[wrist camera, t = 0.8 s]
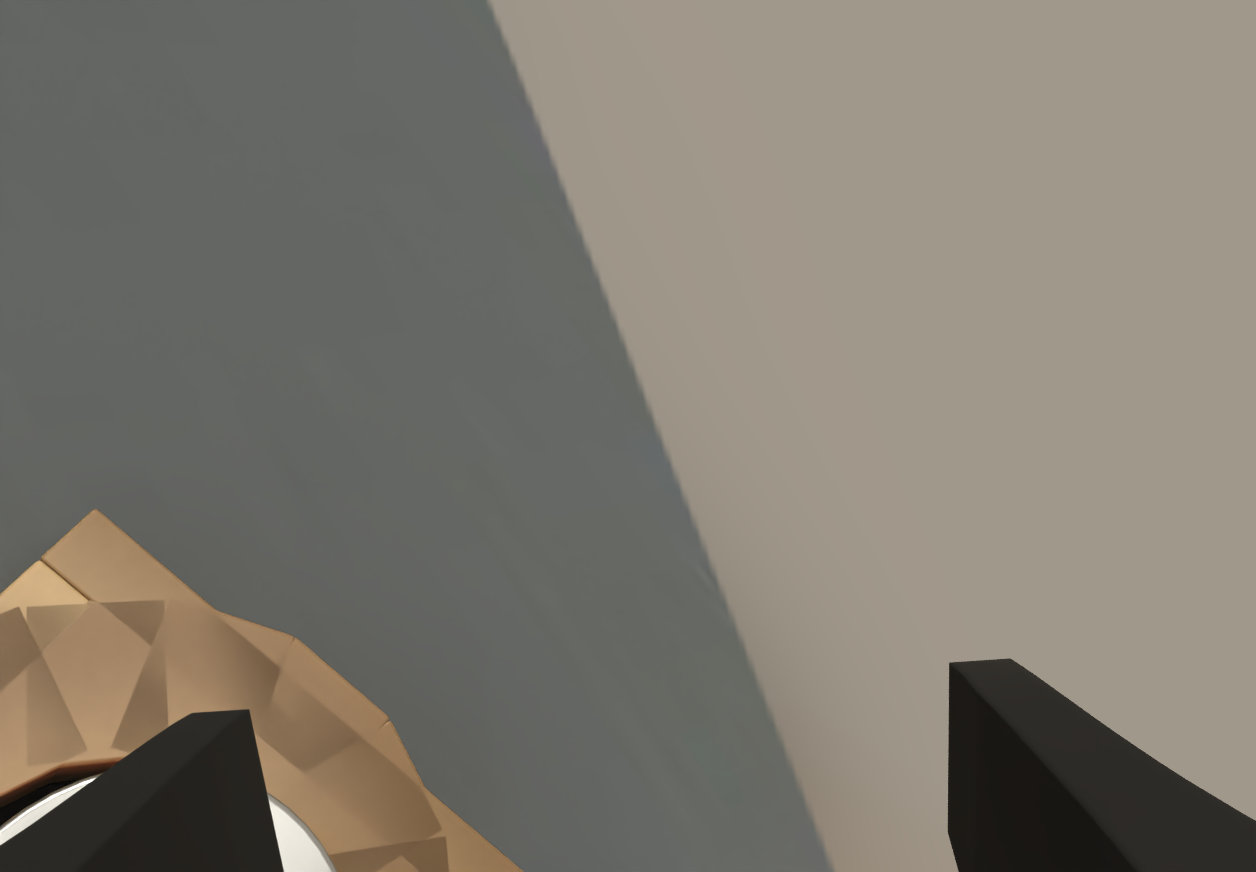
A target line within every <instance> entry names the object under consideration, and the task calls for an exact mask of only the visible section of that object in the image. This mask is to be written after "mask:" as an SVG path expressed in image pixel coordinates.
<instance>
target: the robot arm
mask: <svg viewBox="0 0 1256 872" xmlns="http://www.w3.org/2000/svg"><path fill="white" fill-rule="evenodd" d="M948 759H949V760H948V761H949V762H948V766H949V767H948V834H949V838H950V841H951V845H952V849H953V852H954V856H955V860H956V863H957V867H958V870H959V872H1256V821H1255V820H1253V819H1251V818H1250V817H1248V816H1246V815H1244V814H1243V813H1241V812H1239V811H1238V810H1236V809H1234V808H1233V807H1231V806H1229V805H1228V804H1226V803H1224V802H1223V801H1221V800H1219V799H1218V798H1216V797H1214V796H1212V795H1211V794H1209V793H1208V792H1206V791H1204V790H1203V789H1201V788H1199V787H1198V786H1196V785H1194V784H1193V783H1191V782H1189V781H1188V780H1186V779H1185V778H1183V777H1182V776H1180V775H1178V774H1177V773H1175V772H1174V771H1172V770H1170V769H1169V768H1168V767H1166V766H1164V765H1163V764H1161V763H1160V762H1158V761H1157V760H1155V759H1154V758H1152V757H1151V756H1149V755H1148V754H1146V753H1145V752H1143V751H1142V750H1140V749H1139V748H1137V747H1136V746H1134V745H1133V744H1131V743H1130V742H1128V741H1127V740H1126V739H1124V738H1123V737H1121V736H1120V735H1118V734H1117V733H1115V732H1114V731H1112V730H1111V729H1110V728H1108V727H1107V726H1105V725H1104V724H1102V723H1101V722H1100V721H1098V720H1097V719H1095V718H1094V717H1093V716H1091V715H1090V714H1089V713H1087V712H1085V711H1084V710H1083V709H1082V708H1080V707H1079V706H1077V705H1076V704H1074V703H1073V702H1072V701H1070V700H1069V699H1068V698H1066V697H1064V696H1063V695H1062V694H1061V693H1059V692H1058V691H1056V690H1055V689H1054V688H1052V687H1051V686H1050V685H1048V684H1047V683H1045V682H1044V681H1043V680H1041V679H1040V678H1038V677H1037V676H1036V675H1034V674H1033V673H1031V672H1029V671H1028V670H1027V669H1025V668H1024V667H1023V666H1021V665H1019V664H1018V663H1016V662H1015V661H1013V660H1012V659H997V660H983V661H967V662H953V663H949V758H948ZM0 872H284V869H283V865H282V860H281V855H280V851H279V846H278V841H277V837H276V832H275V827H274V823H273V818H272V813H271V809H270V804H269V799H268V795H267V790H266V785H265V781H264V776H263V771H262V767H261V762H260V757H259V753H258V748H257V743H256V739H255V734H254V729H253V725H252V720H251V715H250V711H249V709H242V710H227V711H212V712H197V713H191V714H189V715H187V716H185V717H184V718H182V719H180V720H179V721H177V722H175V723H174V724H172V725H171V726H169V727H167V728H166V729H164V730H163V731H161V732H160V733H158V734H157V735H156V736H154V737H153V738H151V739H150V740H148V741H147V742H145V743H144V744H143V745H141V746H140V747H138V748H137V749H136V750H134V751H133V752H131V753H130V754H129V755H127V756H126V757H124V758H123V759H122V760H120V761H119V762H118V763H116V764H115V765H113V766H112V767H111V768H109V769H108V770H106V771H105V772H104V773H102V774H101V775H100V776H98V777H97V778H95V779H94V780H93V781H91V782H90V783H88V784H87V785H86V786H84V787H83V788H81V789H80V790H79V791H77V792H76V793H75V794H73V795H72V796H70V797H69V798H68V799H66V800H65V801H63V802H62V803H61V804H59V805H58V806H56V807H55V808H54V809H52V810H51V811H49V812H48V813H47V814H45V815H44V816H42V817H41V818H40V819H38V820H37V821H35V822H34V823H33V824H31V825H30V826H28V827H27V828H25V829H24V830H22V831H21V832H19V833H18V834H16V835H15V836H13V837H12V838H10V839H9V840H7V841H6V842H4V843H3V844H1V845H0Z"/></svg>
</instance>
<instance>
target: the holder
mask: <svg viewBox="0 0 1256 872" xmlns="http://www.w3.org/2000/svg"><path fill="white" fill-rule="evenodd" d="M242 709H249V711H250V715H251V720H252V725H253V729H254V734H255V739H256V743H257V748H258V753H259V757H260V762H261V767H262V771H263V776H264V781H265V785H266V790H267V792H268V793H269V794H271V795H272V796H274V797H275V798H276V799H278V800H279V801H281V802H282V803H283V804H285V805H286V806H288V807H289V808H290V809H291V810H292V811H293V812H294V813H295V814H296V815H297V816H298V817H299V818H300V819H301V820H302V821H303V822H304V823H305V824H307V826H308V827H309V828H310V830H311V831H312V832H313V833H314V835H315V836H316V837H317V838H318V840H319V841H320V842H321V843H322V845H323V847H324V848H325V850H326V852H327V853H328V855H329V857H330V859H331V860H332V862H333V864H334V865H335V867H336V870H337V872H524V871H522V870H521V869H520V868H519V867H518V866H516V865H515V864H514V863H513V862H512V861H511V860H509V859H508V858H507V857H506V856H505V855H504V854H502V853H501V852H500V851H499V850H498V849H496V848H495V847H494V846H493V845H492V844H491V843H489V842H488V841H487V840H486V839H485V838H484V837H482V836H481V835H480V834H479V833H478V832H476V831H475V830H474V829H473V828H472V827H471V826H469V825H468V824H467V823H466V822H465V821H464V820H462V819H461V818H460V817H459V816H458V815H456V814H455V813H454V812H453V811H452V810H451V809H449V808H448V807H447V806H446V805H445V804H444V803H442V802H441V801H440V800H439V799H438V798H436V797H435V796H434V795H433V794H432V793H431V792H429V791H428V790H427V789H426V788H425V786H424V785H423V783H422V781H421V779H420V777H419V775H418V773H417V771H416V769H415V767H414V765H413V763H412V761H411V759H410V757H409V755H408V753H407V751H406V749H405V747H404V745H403V743H402V741H401V739H400V737H399V735H398V733H397V731H396V729H395V727H394V725H393V723H392V722H391V721H389V717H388V716H387V715H386V714H385V713H384V712H383V711H382V710H380V709H379V708H378V707H377V706H376V705H375V704H373V703H372V702H371V701H370V700H369V699H368V698H366V697H365V696H364V695H363V694H362V693H361V692H359V691H358V690H357V689H356V688H355V687H354V686H352V685H351V684H350V683H349V682H348V681H346V680H345V679H344V678H343V677H342V676H341V675H339V674H338V673H337V672H336V671H335V670H334V669H332V668H331V667H330V666H329V665H328V664H327V663H325V662H324V661H323V660H322V659H321V658H320V657H318V656H317V655H316V654H315V653H314V652H313V651H311V650H310V649H309V648H308V647H307V646H306V645H304V644H303V643H302V642H301V641H300V640H299V639H297V638H294V636H292V635H289V634H286V633H283V632H280V631H277V630H274V629H271V628H268V627H265V626H262V625H259V624H256V623H253V622H250V621H247V620H243V619H240V618H237V617H234V616H231V615H228V614H225V613H222V612H219V611H216V610H215V609H214V608H213V607H212V606H211V605H209V604H208V603H207V602H206V601H205V600H204V599H202V598H201V597H200V596H199V595H198V594H196V593H195V592H194V591H193V590H192V589H191V588H189V587H188V586H187V585H186V584H185V583H184V582H182V581H181V580H180V579H179V578H178V577H176V576H175V575H174V574H173V573H172V572H171V571H169V570H168V569H167V568H166V567H165V566H164V565H162V564H161V563H160V562H159V561H158V560H156V559H155V558H154V557H153V556H152V555H151V554H149V553H148V552H147V551H146V550H145V549H144V548H142V547H141V546H140V545H139V544H138V543H136V542H135V541H134V540H133V539H132V538H131V537H129V536H128V535H127V534H126V533H125V532H124V531H122V530H121V529H120V528H119V527H118V526H116V525H115V524H114V523H113V522H112V521H111V520H109V519H108V518H107V517H106V516H105V515H104V514H102V513H101V512H100V511H99V510H97V509H94V510H92V511H91V512H90V513H89V514H88V515H87V516H86V517H84V518H83V519H82V520H81V521H80V522H79V523H78V524H77V525H76V526H74V527H73V528H72V529H71V530H70V531H69V532H68V533H67V534H66V535H65V536H63V537H62V538H61V539H60V540H59V541H58V542H57V543H56V544H55V545H54V546H52V547H51V548H50V549H49V550H48V551H47V552H46V553H45V554H44V555H42V557H41V561H37V562H35V563H34V564H33V565H32V566H31V567H30V568H28V569H27V570H26V571H25V572H24V573H23V574H22V575H21V576H20V577H18V578H17V579H16V580H15V581H14V582H13V583H12V584H11V585H10V586H9V587H7V588H6V589H5V590H4V591H3V592H2V593H1V594H0V808H1V807H3V806H5V805H7V804H9V803H11V802H13V801H15V800H17V799H19V798H21V797H23V796H25V795H27V794H29V793H31V792H33V791H35V790H37V789H39V788H41V787H43V786H45V785H47V784H49V783H54V782H62V781H71V780H79V779H85V778H88V777H91V776H95V775H98V774H101V773H104V772H105V771H106V770H108V769H109V768H111V767H112V766H113V765H115V764H116V763H118V762H119V761H120V760H122V759H123V758H124V757H126V756H127V755H129V754H130V753H131V752H133V751H134V750H136V749H137V748H138V747H140V746H141V745H143V744H144V743H145V742H147V741H148V740H150V739H151V738H153V737H154V736H156V735H157V734H158V733H160V732H161V731H163V730H164V729H166V728H167V727H169V726H171V725H172V724H174V723H175V722H177V721H179V720H180V719H182V718H184V717H185V716H187V715H189V714H191V713H197V712H212V711H227V710H242Z"/></svg>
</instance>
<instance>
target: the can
mask: <svg viewBox="0 0 1256 872" xmlns="http://www.w3.org/2000/svg"><path fill="white" fill-rule="evenodd" d="M101 774H102V773H101ZM101 774H98V775H95V776H91V777H88V778H85V779H81V780H79V781H77V782H74V783H72V784H70V785H68V786H65V787H63V788H61V789H58V790H56V791H54V792H52V793H50V794H48V795H47V796H45V797H43V798H41V799H40V800H38V801H36V802H34V803H33V804H31V805H29V806H28V807H26V808H24V809H23V810H22V811H20V812H19V813H17V814H16V815H15V816H13V817H12V818H11V819H9V820H8V821H7V822H5V823H4V824H3V825H1V826H0V845H1V844H3V843H4V842H6V841H7V840H9V839H10V838H12V837H13V836H15V835H16V834H18V833H19V832H21V831H22V830H24V829H25V828H27V827H28V826H30V825H31V824H33V823H34V822H35V821H37V820H38V819H40V818H41V817H42V816H44V815H45V814H47V813H48V812H49V811H51V810H52V809H54V808H55V807H56V806H58V805H59V804H61V803H62V802H63V801H65V800H66V799H68V798H69V797H70V796H72V795H73V794H75V793H76V792H77V791H79V790H80V789H81V788H83V787H84V786H86V785H87V784H88V783H90V782H91V781H93V780H94V779H95V778H97V777H98V776H100V775H101ZM267 795H268V799H269V804H270V809H271V813H272V818H273V823H274V827H275V832H276V837H277V841H278V846H279V851H280V855H281V860H282V865H283V869H284V872H337V870H336V867H335V865H334V864H333V862H332V860H331V859H330V857H329V855H328V853H327V852H326V850H325V848H324V847H323V845H322V843H321V842H320V841H319V840H318V838H317V837H316V836H315V835H314V833H313V832H312V831H311V830H310V828H309V827H308V826H307V824H305V823H304V822H303V821H302V820H301V819H300V818H299V817H298V816H297V815H296V814H295V813H294V812H293V811H292V810H291V809H290V808H289V807H288V806H286V805H285V804H283V803H282V802H281V801H279V800H278V799H276V798H275V797H274V796H272V795H271V794H269V793H268V792H267Z"/></svg>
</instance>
